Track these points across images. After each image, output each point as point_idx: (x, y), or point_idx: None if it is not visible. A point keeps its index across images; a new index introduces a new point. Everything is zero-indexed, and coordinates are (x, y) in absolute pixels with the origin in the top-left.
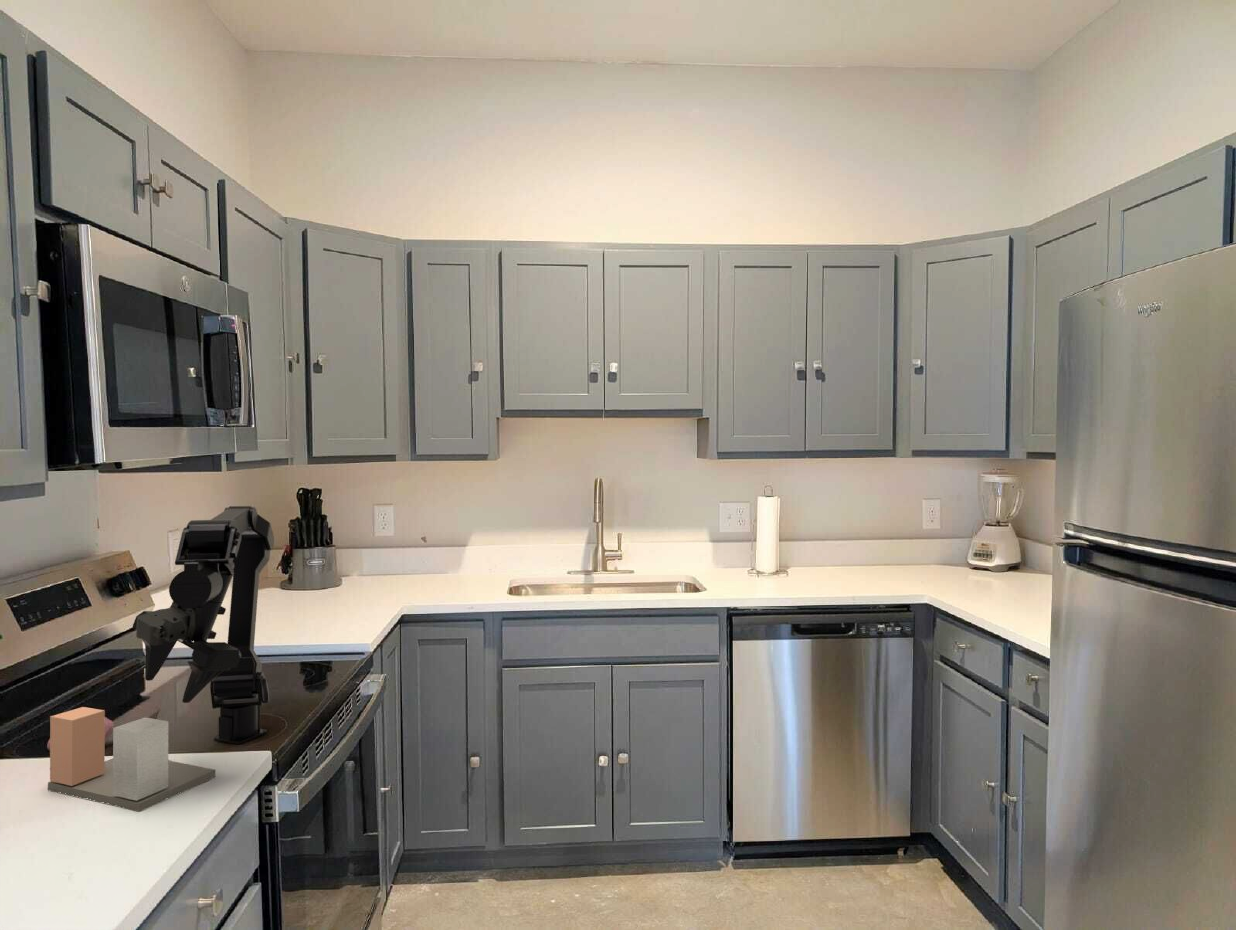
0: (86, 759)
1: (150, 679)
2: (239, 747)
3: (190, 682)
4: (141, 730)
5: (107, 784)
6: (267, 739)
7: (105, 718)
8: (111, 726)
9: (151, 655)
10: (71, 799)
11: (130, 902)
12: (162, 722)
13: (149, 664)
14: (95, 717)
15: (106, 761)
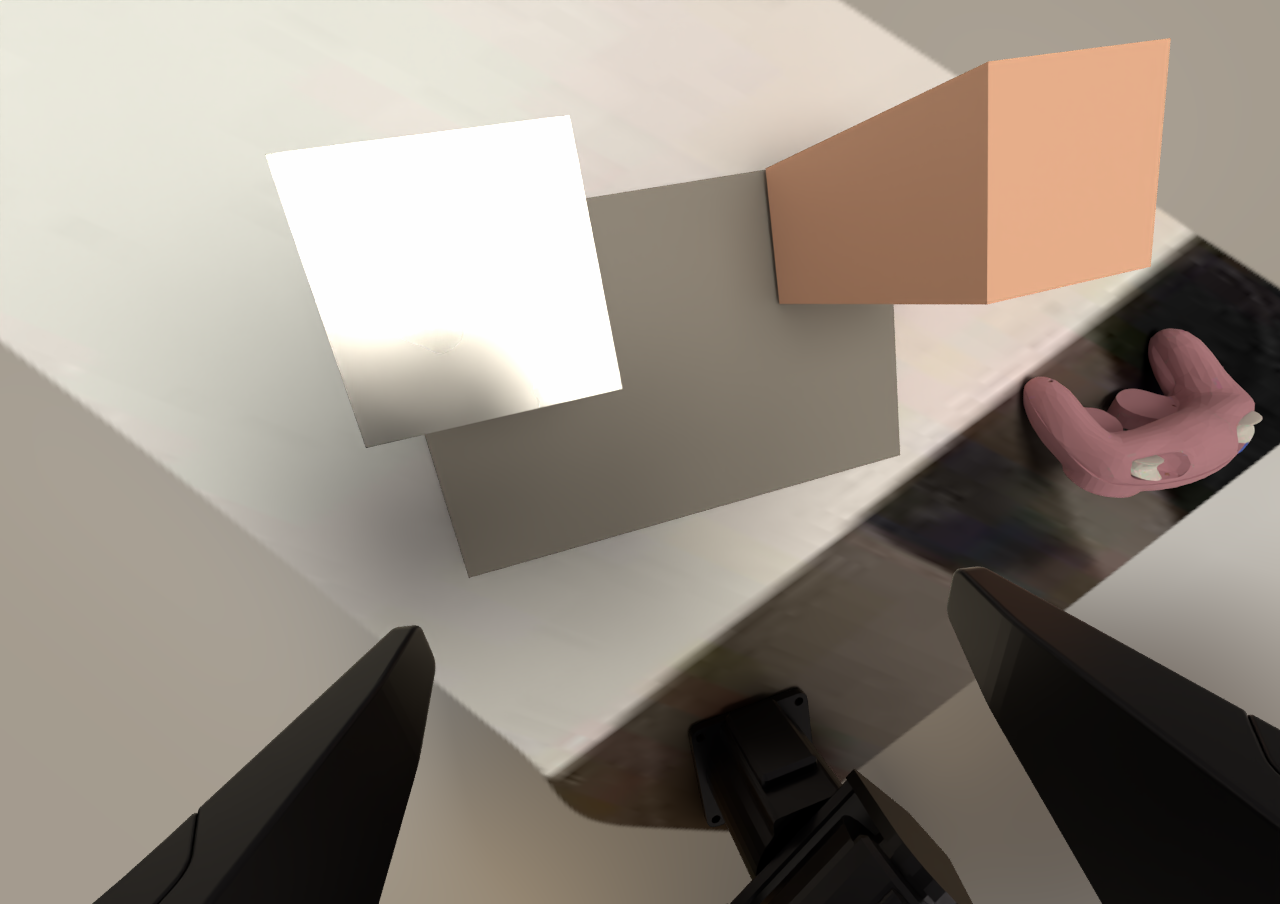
0: (817, 217)
1: (954, 602)
2: (668, 718)
3: (210, 832)
4: (290, 203)
5: (680, 265)
6: (655, 802)
7: (1145, 482)
8: (1092, 484)
9: (1228, 803)
10: (718, 159)
11: None
12: (373, 407)
13: (1092, 684)
14: (964, 242)
15: (890, 371)
